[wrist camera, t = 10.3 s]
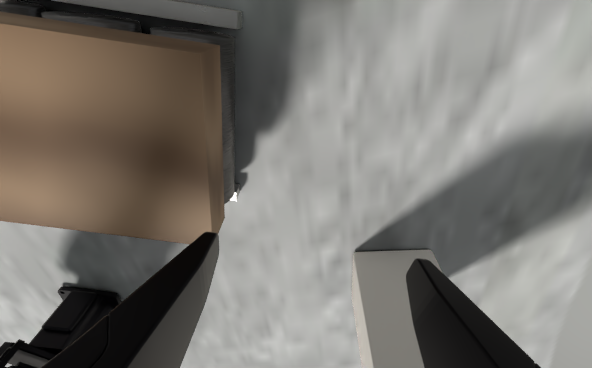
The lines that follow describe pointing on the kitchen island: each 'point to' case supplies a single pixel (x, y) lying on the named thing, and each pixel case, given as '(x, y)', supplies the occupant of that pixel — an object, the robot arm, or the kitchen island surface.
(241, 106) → the kitchen island surface
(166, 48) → the slab
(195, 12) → the track
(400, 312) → the milk carton
